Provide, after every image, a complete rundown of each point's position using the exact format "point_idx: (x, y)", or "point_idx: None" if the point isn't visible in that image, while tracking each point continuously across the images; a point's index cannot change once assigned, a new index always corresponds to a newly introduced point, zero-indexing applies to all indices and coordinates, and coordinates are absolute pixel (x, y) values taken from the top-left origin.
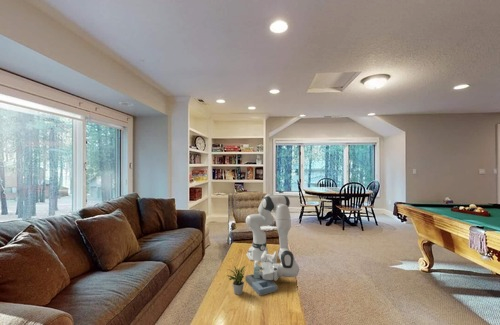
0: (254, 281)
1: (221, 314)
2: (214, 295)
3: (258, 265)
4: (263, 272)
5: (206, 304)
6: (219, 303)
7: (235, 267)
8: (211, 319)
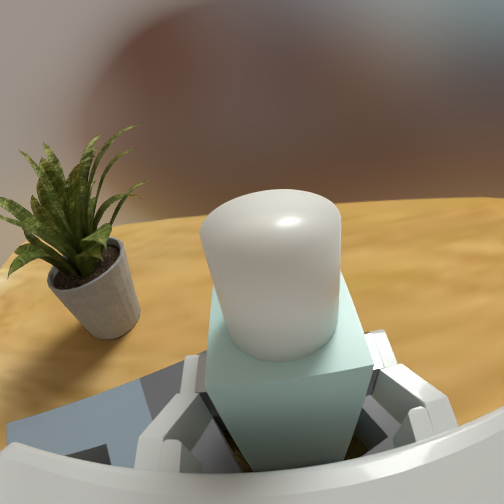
0: (157, 404)
1: (5, 282)
2: (126, 236)
3: (249, 340)
4: (37, 461)
5: None
6: None
7: (111, 142)
8: (4, 265)
